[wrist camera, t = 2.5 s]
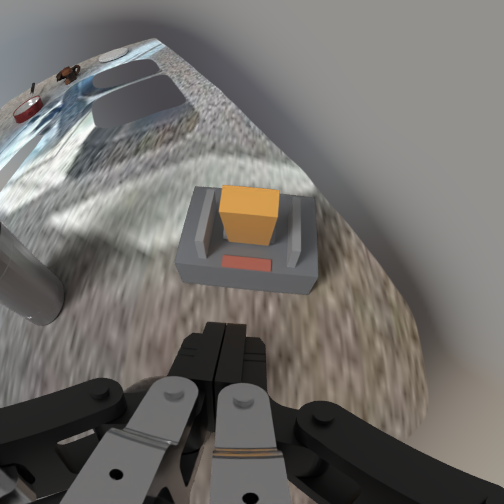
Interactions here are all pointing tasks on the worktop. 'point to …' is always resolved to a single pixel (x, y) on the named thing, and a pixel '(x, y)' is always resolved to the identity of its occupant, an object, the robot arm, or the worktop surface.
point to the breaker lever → (249, 214)
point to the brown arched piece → (68, 74)
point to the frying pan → (28, 108)
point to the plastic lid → (113, 55)
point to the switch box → (249, 248)
